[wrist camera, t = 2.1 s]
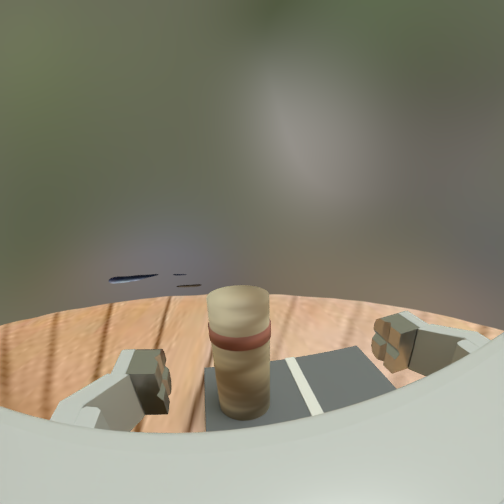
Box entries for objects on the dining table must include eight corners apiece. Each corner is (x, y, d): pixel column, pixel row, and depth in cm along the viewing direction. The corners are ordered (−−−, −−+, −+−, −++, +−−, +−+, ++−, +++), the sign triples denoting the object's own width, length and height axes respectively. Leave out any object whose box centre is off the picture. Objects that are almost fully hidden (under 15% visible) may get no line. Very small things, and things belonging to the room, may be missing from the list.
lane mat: (209, 465, 17) (207, 459, 17) (205, 374, 31) (204, 366, 31) (412, 415, 20) (415, 408, 20) (355, 351, 34) (356, 344, 33)
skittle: (220, 423, 22) (205, 312, 19) (217, 390, 27) (205, 287, 24) (275, 417, 22) (277, 305, 20) (265, 384, 27) (263, 282, 25)
